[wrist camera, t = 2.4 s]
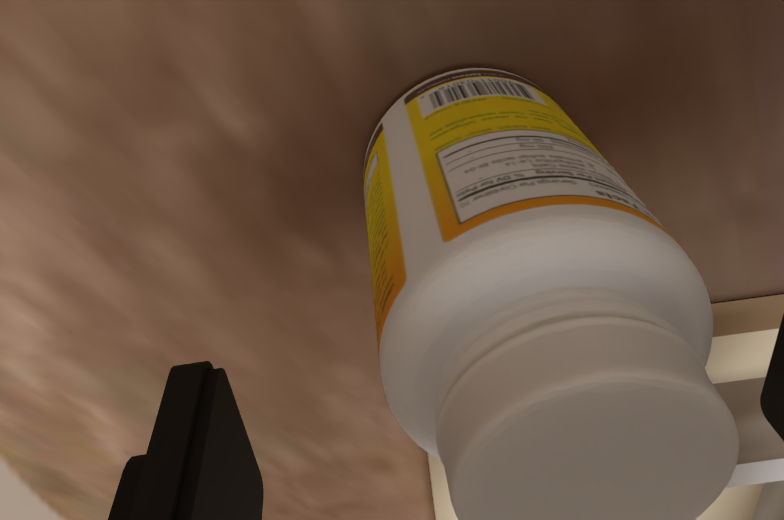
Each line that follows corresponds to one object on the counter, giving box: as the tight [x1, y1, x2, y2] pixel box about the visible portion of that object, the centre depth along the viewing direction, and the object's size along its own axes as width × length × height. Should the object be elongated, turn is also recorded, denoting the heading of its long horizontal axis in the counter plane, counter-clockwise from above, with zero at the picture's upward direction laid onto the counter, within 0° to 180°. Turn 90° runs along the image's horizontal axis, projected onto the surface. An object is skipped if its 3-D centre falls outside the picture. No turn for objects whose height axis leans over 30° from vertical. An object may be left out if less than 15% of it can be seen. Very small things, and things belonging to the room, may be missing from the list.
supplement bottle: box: [363, 68, 739, 520], centre depth 13 cm, size 6×6×10 cm
